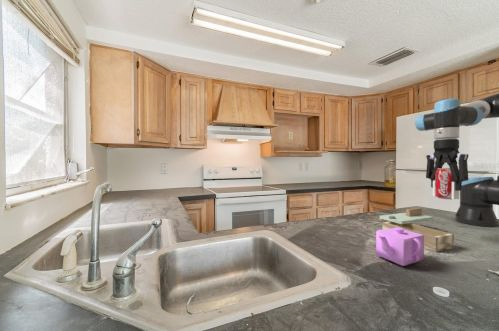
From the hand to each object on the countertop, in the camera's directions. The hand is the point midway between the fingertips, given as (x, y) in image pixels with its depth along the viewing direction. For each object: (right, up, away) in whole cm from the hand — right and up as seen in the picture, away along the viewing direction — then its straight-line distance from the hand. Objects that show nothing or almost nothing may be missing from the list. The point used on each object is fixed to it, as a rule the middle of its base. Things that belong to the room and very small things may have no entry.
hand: (445, 197), depth 87 cm
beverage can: (0, -1, 0) cm, 1 cm away
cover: (-8, -11, +11) cm, 18 cm away
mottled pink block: (-31, -18, -17) cm, 40 cm away
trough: (-13, -17, -1) cm, 21 cm away
